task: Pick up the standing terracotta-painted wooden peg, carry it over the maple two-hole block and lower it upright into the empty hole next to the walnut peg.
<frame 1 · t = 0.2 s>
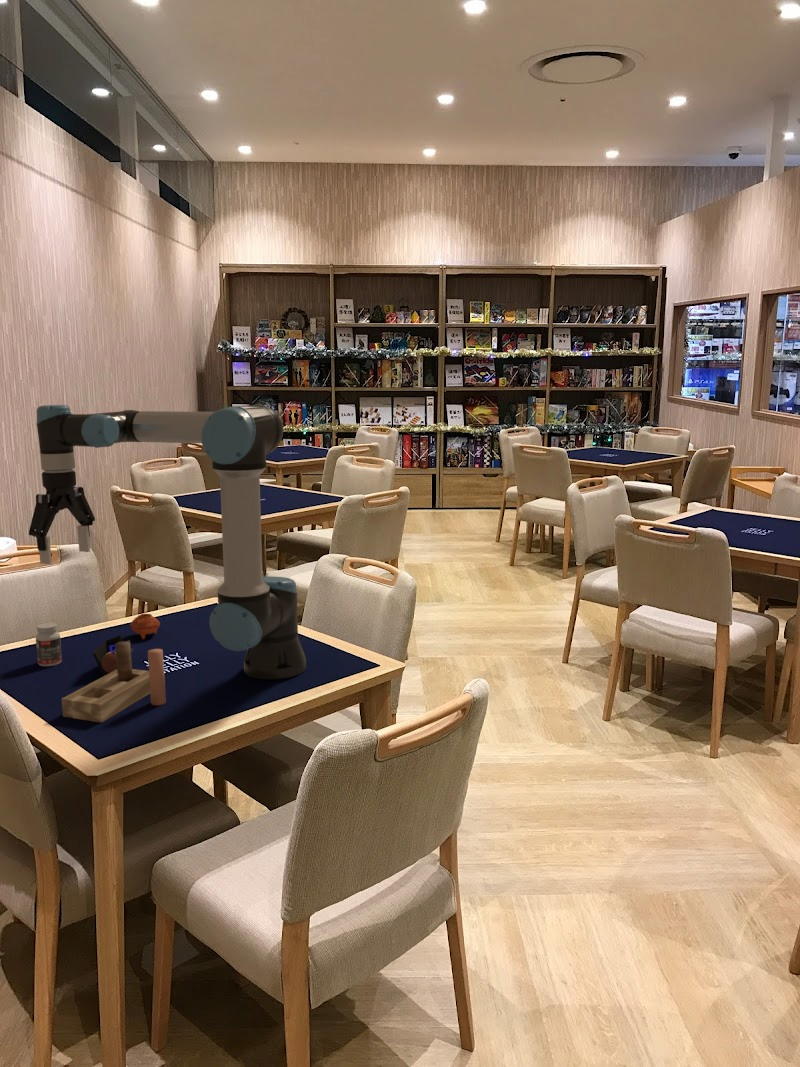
hand: (66, 557, 208), 28 cm above the table, fingers open, 13 cm apart
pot: (146, 636, 237), on the table
terracotta peg: (158, 702, 190), on the table
character figurine: (115, 671, 211), on the table
maple hole block: (112, 701, 191), on the table
pill bottle: (50, 663, 216), on the table
walnut peg: (126, 693, 195), resting in maple hole block
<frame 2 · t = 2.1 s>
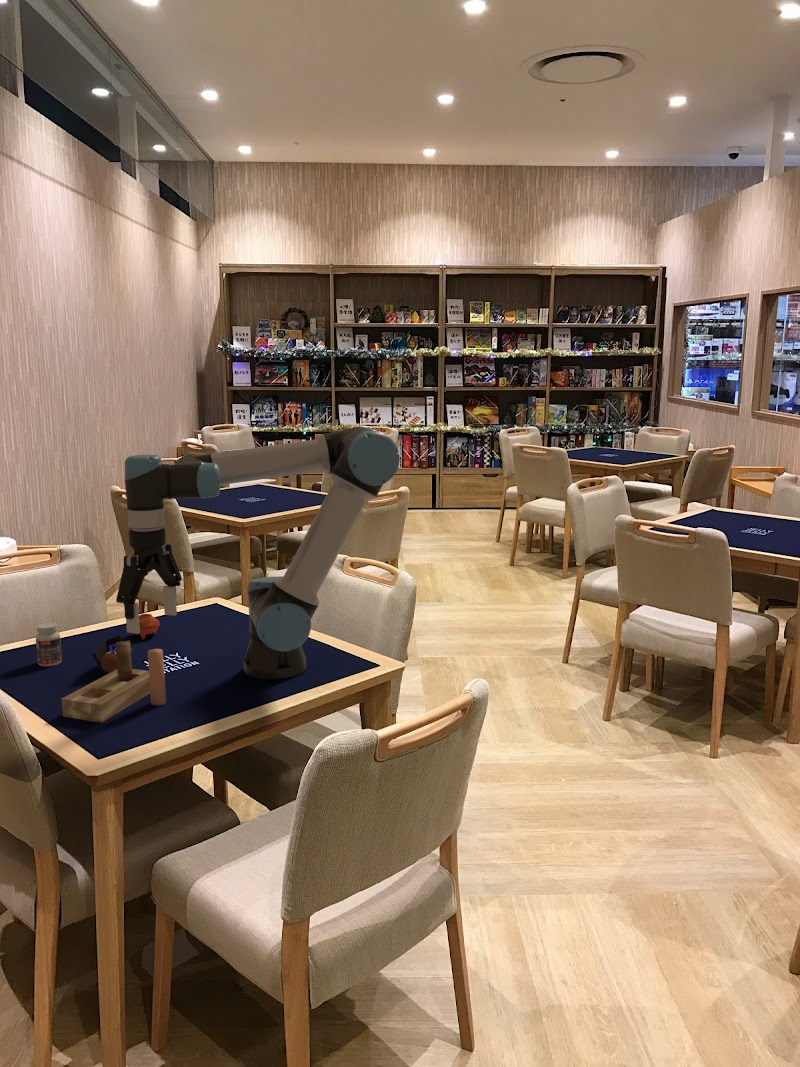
hand: (152, 623, 187), 18 cm above the table, fingers open, 13 cm apart
nothing on the table moved.
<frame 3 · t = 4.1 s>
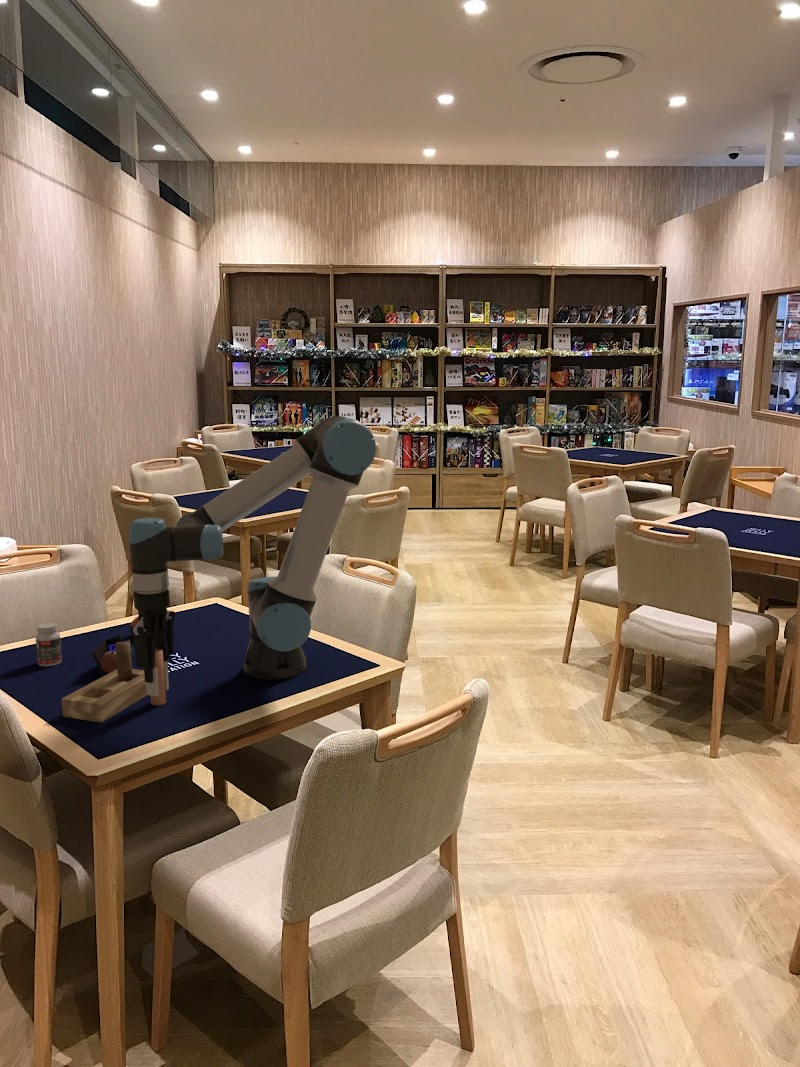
hand: (157, 691, 190), 3 cm above the table, fingers closed on terracotta peg, 3 cm apart
terracotta peg: (158, 702, 190), on the table, touching gripper
everything else where it was.
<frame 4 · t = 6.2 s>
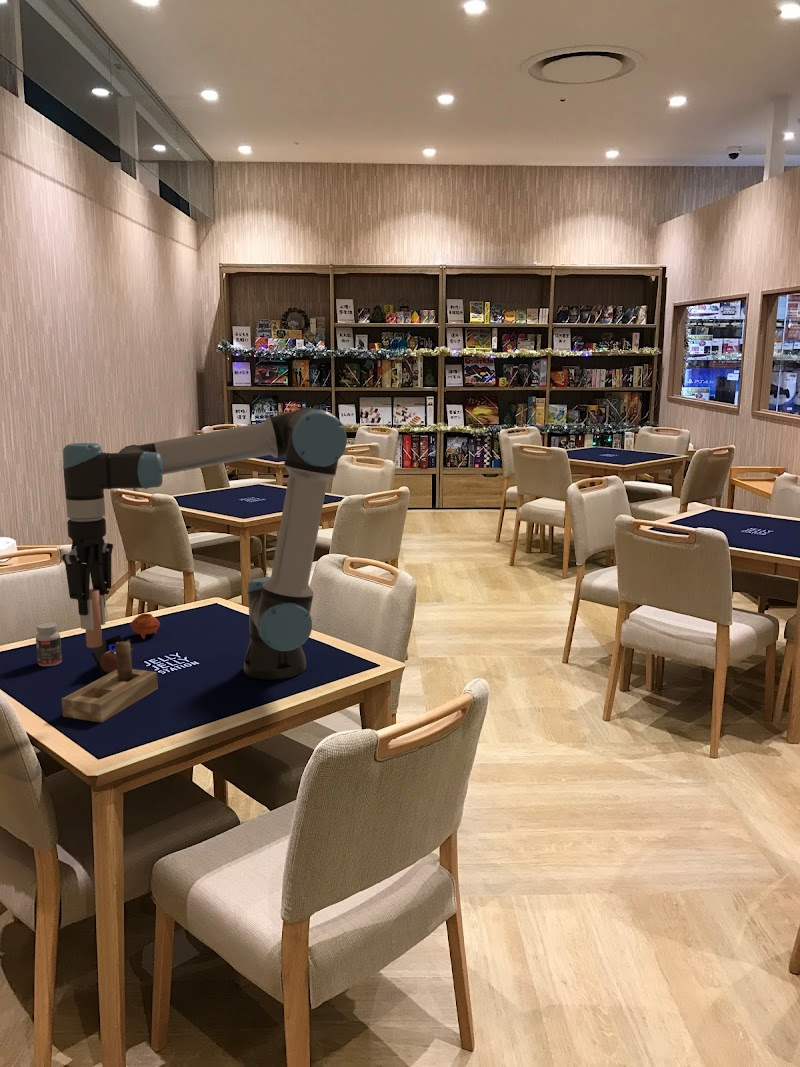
hand: (93, 626, 183), 19 cm above the table, fingers closed on terracotta peg, 3 cm apart
terracotta peg: (94, 645, 183), point 15 cm above the table, touching gripper
everything else where it was.
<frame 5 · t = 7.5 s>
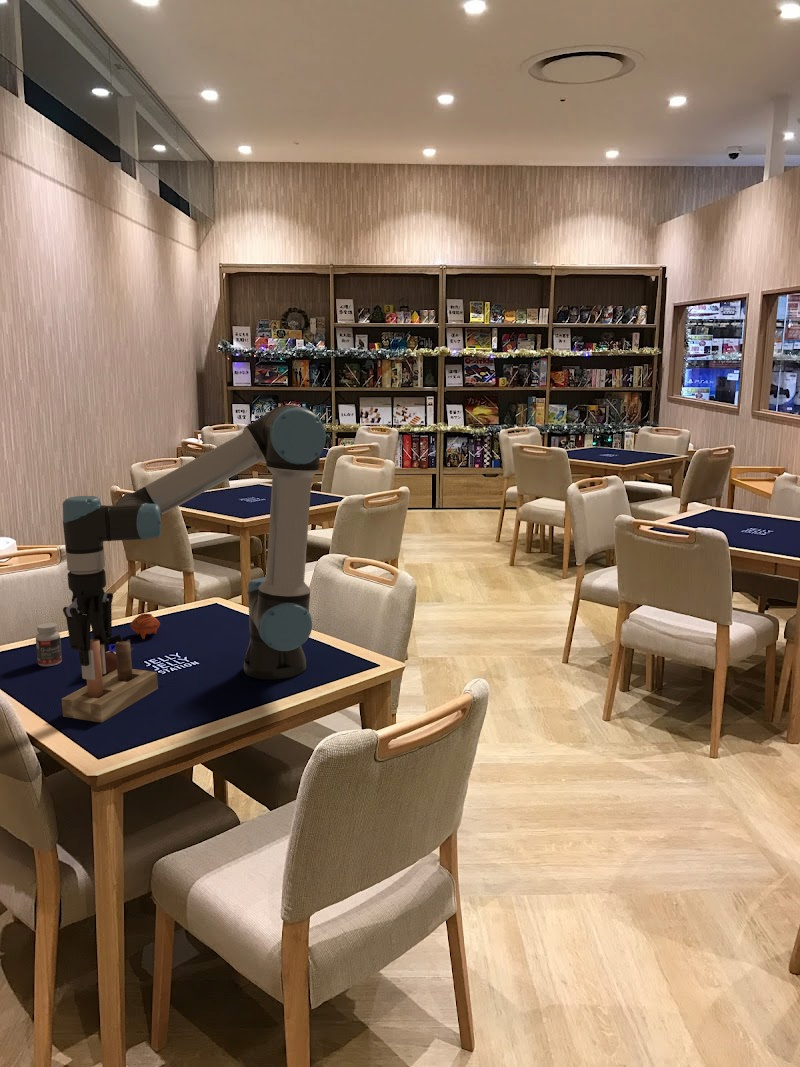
hand: (94, 675, 185), 8 cm above the table, fingers closed on terracotta peg, 3 cm apart
terracotta peg: (95, 694, 185), point 4 cm above the table, touching gripper
everything else where it was.
when the fingers open (5 cm above the table, at t = 8.2 s): terracotta peg drops 1 cm, resting in maple hole block.
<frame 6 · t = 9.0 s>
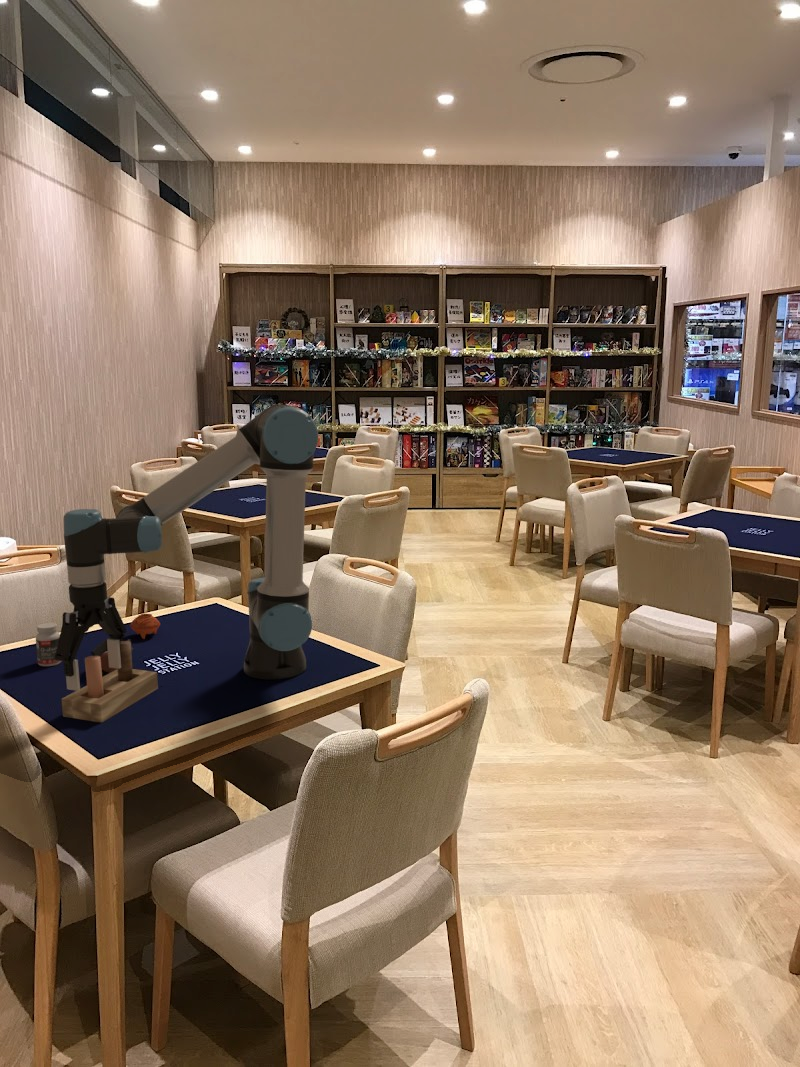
hand: (95, 678, 185), 7 cm above the table, fingers open, 13 cm apart
terracotta peg: (97, 710, 186), resting in maple hole block
walnut peg: (126, 693, 195), resting in maple hole block, touching gripper
everything else where it was.
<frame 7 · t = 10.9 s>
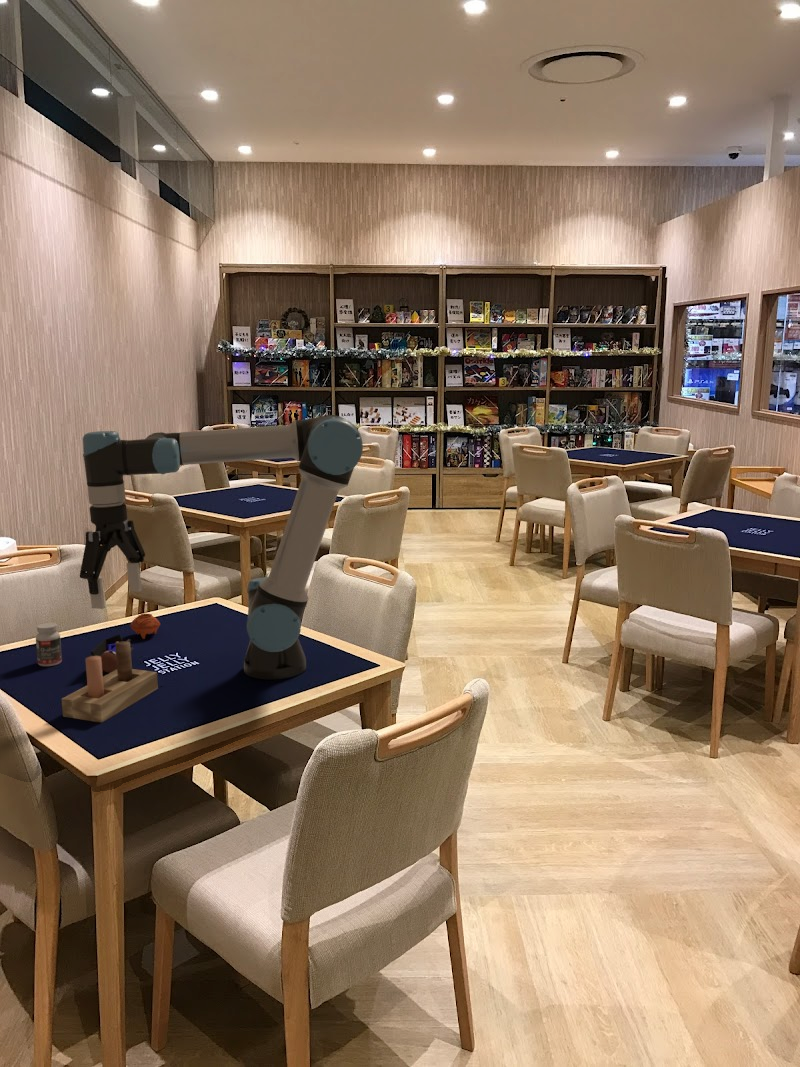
hand: (117, 599, 188), 23 cm above the table, fingers open, 13 cm apart
walnut peg: (126, 693, 195), resting in maple hole block
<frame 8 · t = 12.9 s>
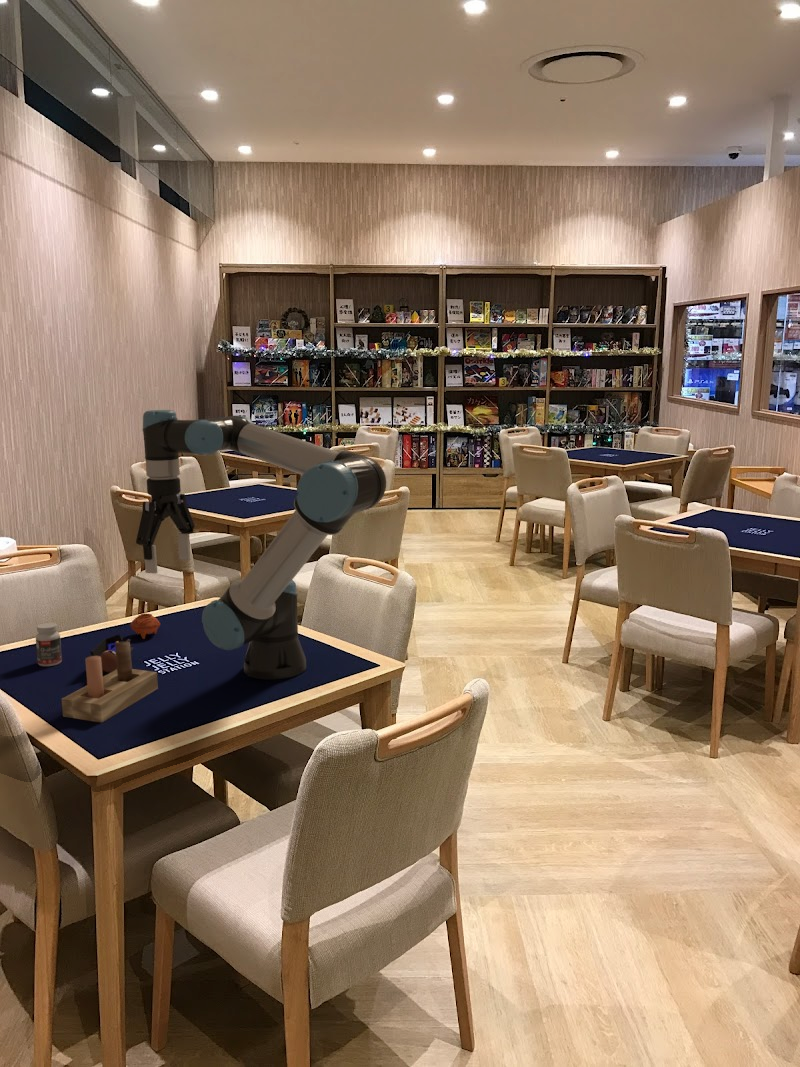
hand: (168, 566, 203), 27 cm above the table, fingers open, 13 cm apart
at the end: terracotta peg 0.1 cm from the target spot on the maple hole block, point 0.0 cm above the maple hole block's base; terracotta peg tilted 0°; the gripper is holding nothing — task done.
